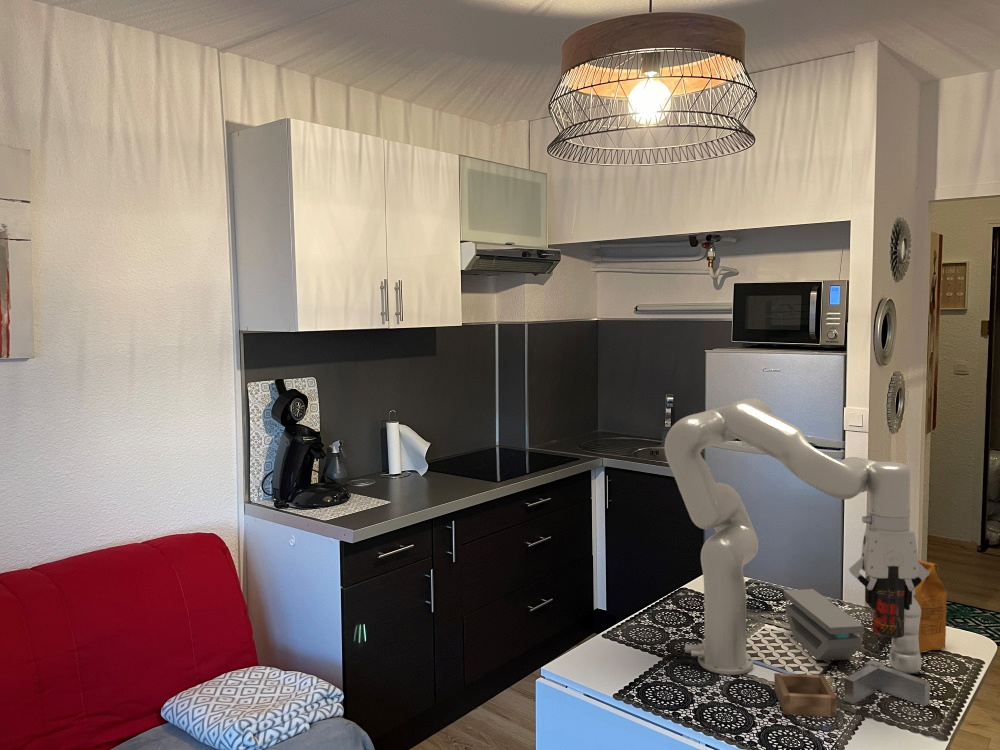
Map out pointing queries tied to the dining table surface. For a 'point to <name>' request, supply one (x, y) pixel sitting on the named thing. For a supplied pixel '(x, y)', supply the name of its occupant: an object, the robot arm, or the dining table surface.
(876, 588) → the deodorant
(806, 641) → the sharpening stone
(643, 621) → the dining table surface
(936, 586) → the coffee package
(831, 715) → the block
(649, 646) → the dining table surface
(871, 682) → the v block
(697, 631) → the dining table surface
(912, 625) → the plastic bottle
